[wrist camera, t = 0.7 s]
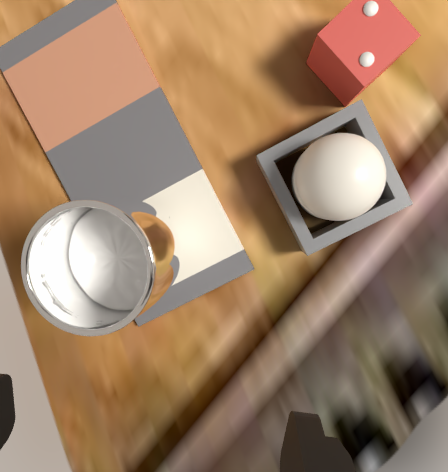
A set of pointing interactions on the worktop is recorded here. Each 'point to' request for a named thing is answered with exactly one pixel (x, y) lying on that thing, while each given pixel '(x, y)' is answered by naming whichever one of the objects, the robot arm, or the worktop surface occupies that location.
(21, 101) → the game board
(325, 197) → the dome cap
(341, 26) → the die
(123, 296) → the beer glass
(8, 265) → the worktop surface
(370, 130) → the dome base
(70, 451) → the worktop surface
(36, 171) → the worktop surface
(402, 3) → the worktop surface
